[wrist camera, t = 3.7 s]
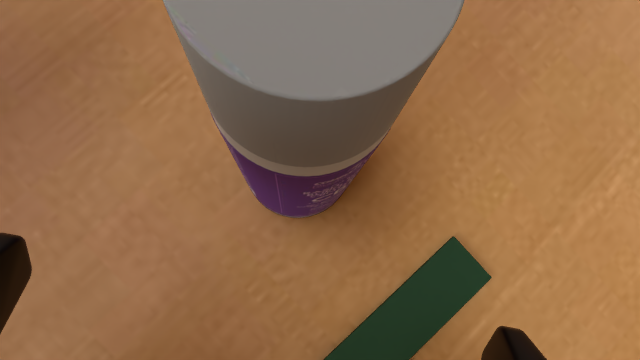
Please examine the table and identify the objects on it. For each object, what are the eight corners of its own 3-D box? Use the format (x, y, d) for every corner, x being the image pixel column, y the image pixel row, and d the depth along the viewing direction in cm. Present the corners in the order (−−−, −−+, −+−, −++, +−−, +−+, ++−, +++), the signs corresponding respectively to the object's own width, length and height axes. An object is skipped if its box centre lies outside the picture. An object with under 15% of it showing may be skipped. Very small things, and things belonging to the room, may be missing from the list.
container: (318, 237, 21) (387, 173, 6) (225, 185, 21) (73, 2, 6) (367, 146, 22) (531, -101, 7) (277, 97, 22) (252, -246, 7)
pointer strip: (339, 426, 20) (339, 428, 19) (300, 381, 20) (300, 382, 20) (490, 277, 21) (492, 277, 21) (452, 236, 21) (454, 236, 21)
